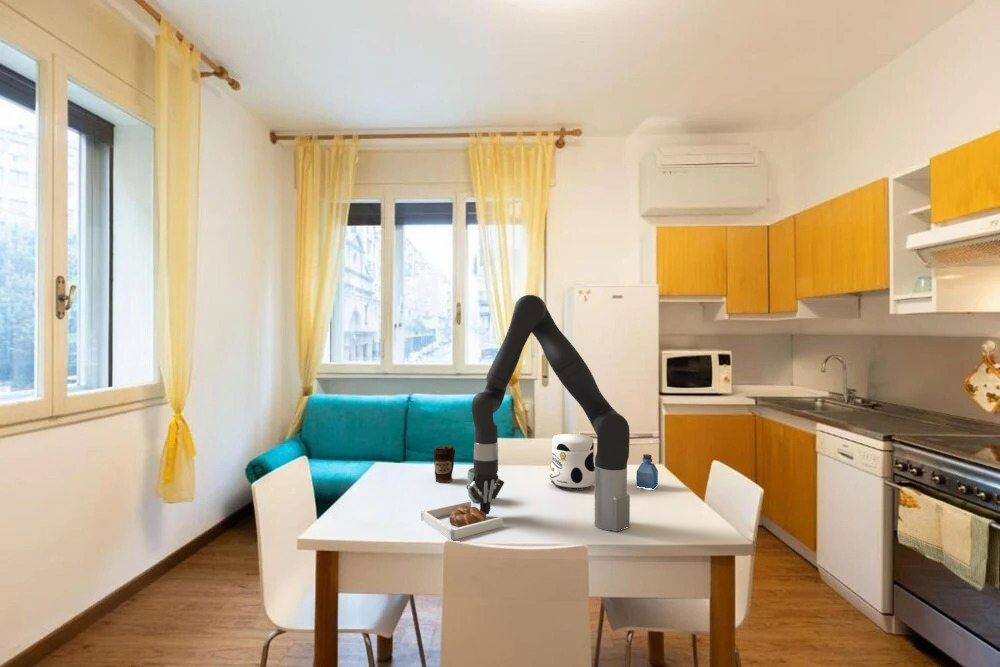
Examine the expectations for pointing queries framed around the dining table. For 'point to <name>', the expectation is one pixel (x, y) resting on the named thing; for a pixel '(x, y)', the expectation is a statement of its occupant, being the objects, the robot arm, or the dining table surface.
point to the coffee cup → (444, 463)
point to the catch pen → (460, 532)
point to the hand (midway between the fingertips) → (485, 513)
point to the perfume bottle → (647, 473)
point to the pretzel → (466, 516)
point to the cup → (470, 480)
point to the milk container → (572, 461)
